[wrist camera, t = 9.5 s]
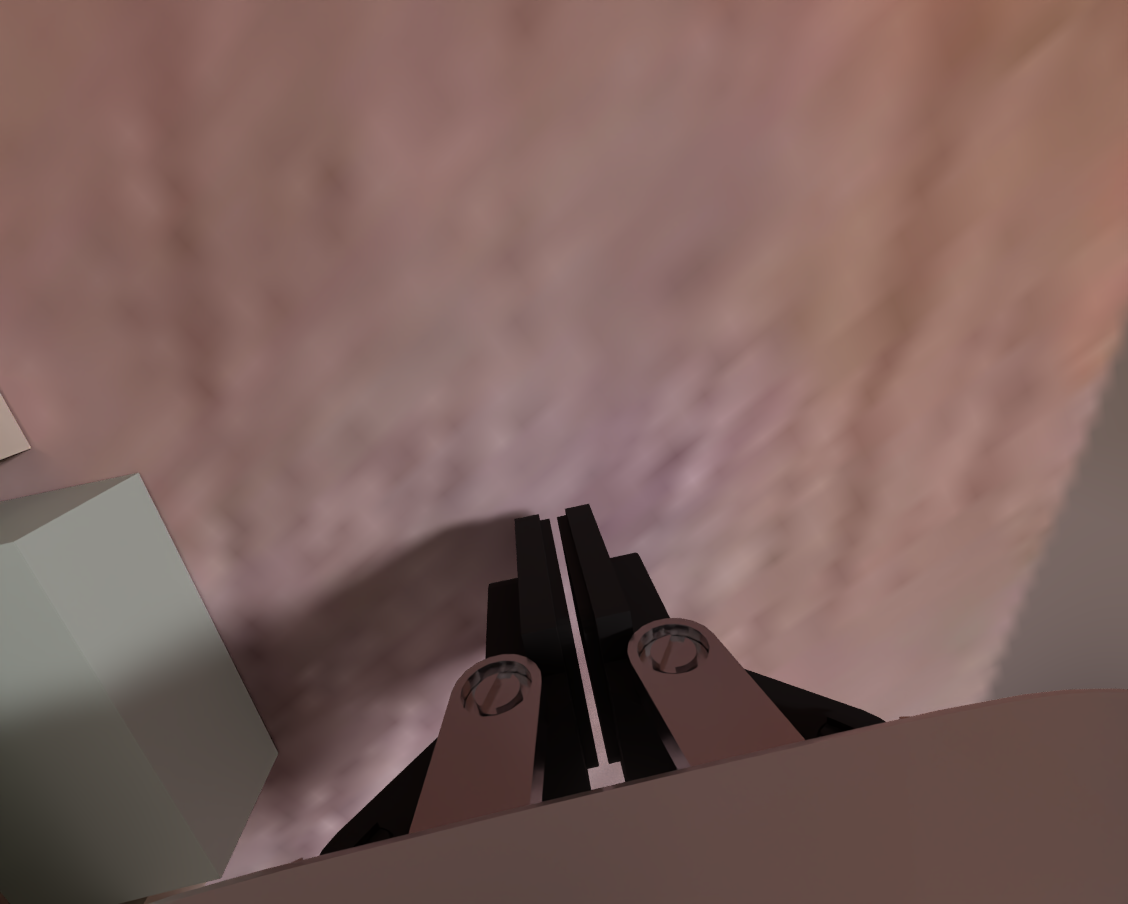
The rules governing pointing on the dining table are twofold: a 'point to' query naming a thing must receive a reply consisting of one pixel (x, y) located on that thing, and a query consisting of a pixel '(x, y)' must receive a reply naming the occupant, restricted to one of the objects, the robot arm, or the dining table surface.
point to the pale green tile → (114, 706)
